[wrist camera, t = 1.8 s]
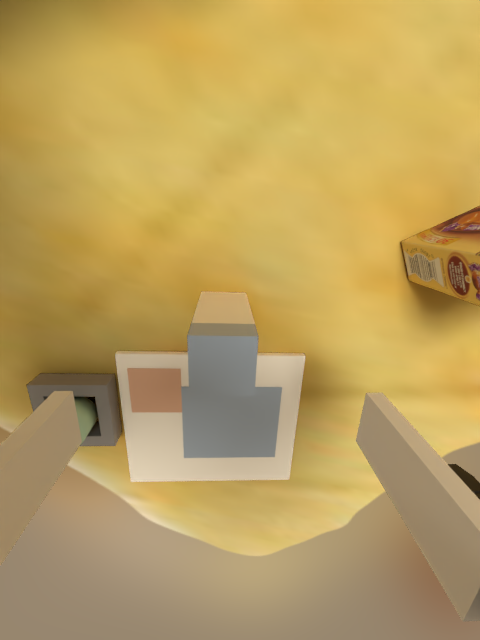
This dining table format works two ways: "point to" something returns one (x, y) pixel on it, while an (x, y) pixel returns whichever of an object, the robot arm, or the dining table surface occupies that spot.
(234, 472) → the picture card
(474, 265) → the candy box
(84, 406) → the button
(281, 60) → the dining table surface
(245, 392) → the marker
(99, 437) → the button housing
